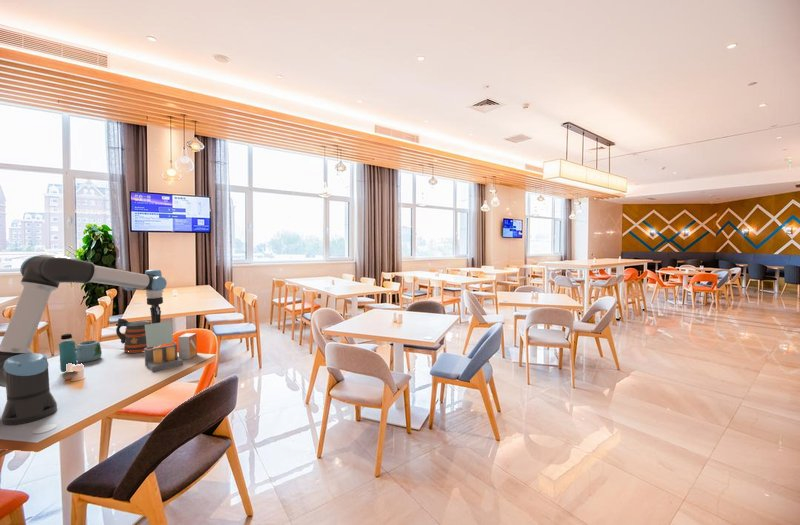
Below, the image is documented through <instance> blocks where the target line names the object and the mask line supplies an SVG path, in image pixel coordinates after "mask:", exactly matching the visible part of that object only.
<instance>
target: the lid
mask: <svg viewBox="0 0 800 525" xmlns="http://www.w3.org/2000/svg"><path fill="white" fill-rule="evenodd" d="M145 333H146V343H147V348H148V347H153V348H155V347H157V346H158V347H160V346H165V345H171V344H174V343H175V342H174V335H173V334H174V333H173V324H172V320H169V321H163V322H161V321H160V323H154V324H152V323H151V324H147V325H145Z"/></svg>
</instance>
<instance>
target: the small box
mask: <svg viewBox="0 0 800 525" xmlns="http://www.w3.org/2000/svg"><path fill="white" fill-rule="evenodd" d="M197 338H198V337H197V333H195V332H186V333H184V334H181V335H180V336H178V337H177V340H178V341H177V342H178V343H177V345H178V357H179V358H181V359H182V360H190V359H192V358H194V357H195V356H197V355H198V341H197V340H198V339H197ZM196 354H197V355H196Z"/></svg>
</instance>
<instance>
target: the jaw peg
mask: <svg viewBox="0 0 800 525" xmlns="http://www.w3.org/2000/svg"><path fill="white" fill-rule="evenodd" d="M166 357H167V362H169V361H173V360H175V347H168V348H166Z"/></svg>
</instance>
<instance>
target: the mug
mask: <svg viewBox="0 0 800 525" xmlns="http://www.w3.org/2000/svg"><path fill="white" fill-rule="evenodd" d="M101 346H102V345H101V342H100V341H99V340H87V341H82V342H79V343H78V344H76V356H77V357H76V360H77V362H80V363H88V362H93V361H97V360H99V359H100V358H101V357H102V354H103V353H102V348H101Z"/></svg>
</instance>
